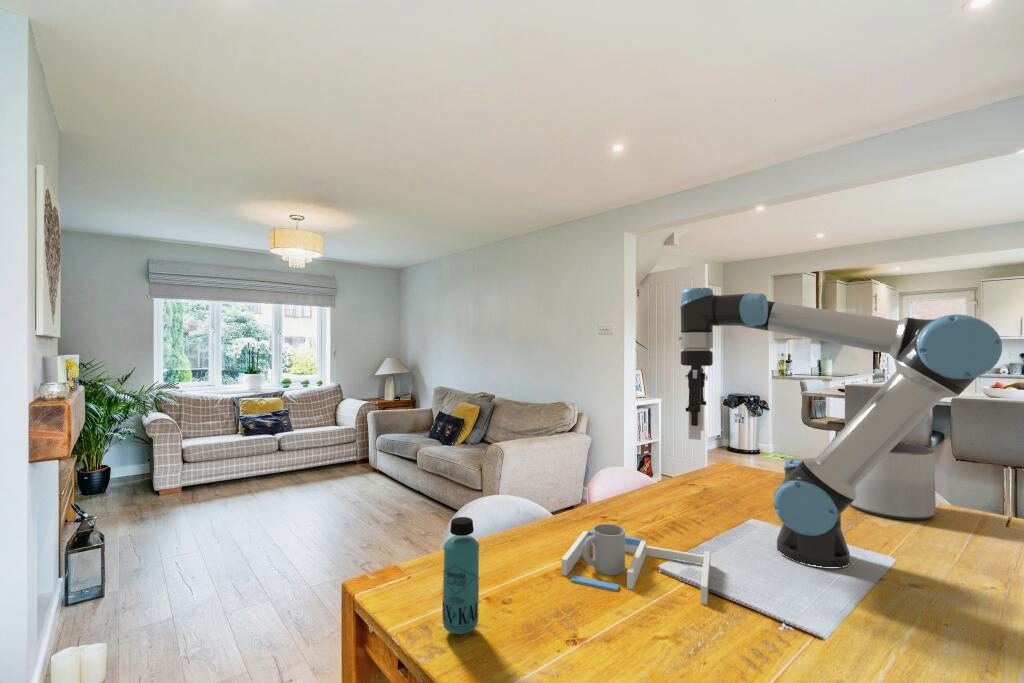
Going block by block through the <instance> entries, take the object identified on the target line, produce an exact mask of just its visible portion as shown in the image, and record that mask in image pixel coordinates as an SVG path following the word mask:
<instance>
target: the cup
mask: <svg viewBox="0 0 1024 683" xmlns="http://www.w3.org/2000/svg"><path fill="white" fill-rule="evenodd" d="M592 531H593V535H591V536H589V537H587V538H586V540H585V542H584V544H583V554H582V557H583V560H584V562H585V563H586V564H587V565H589V566H592V567H593V569H594V570H595V572H596V573H598V574H601V575H604V576H611V577H612V576H619V575H622V574H623V573H624V572H625V569H626V552H625V536H626V529H625V528H623V527H622V526H620V525H616V524H613V523H599V524H597V525H594V526H593V528H592ZM592 543H593V546H591V544H592ZM591 547H592V557H591V554H590V553H591V552H590V549H591Z"/></svg>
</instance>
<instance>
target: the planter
mask: <svg viewBox="0 0 1024 683" xmlns="http://www.w3.org/2000/svg"><path fill="white" fill-rule="evenodd" d="M935 464H936V463H935V450H934V449H933V448H930V447H927V446H924V445H921V444H915V443H910V442H904V441H900V442H899V443H898V444H897V445H896V446H895V447H894V448H893V449H892V450H891V451H890V452H889V453H888V454H887V455H886V456H885V457H884V458H883V459H882V460H881V461H880V462H879V463H878V464H877V465H876V466H875V467H874V468H873V469H872V470H871V471H870V472H869V473H868V474H867V475H866V476H865V477H864V478H863V479H862V480H861V481H860V482H859V483H858V484H857V485H856V487H855V491H856V495H857V498H856V499H855V500H854V501H853V502H852V503H851V504H850V505H849V506H850V507H852V508H854V509H856V510H858V511H861V512H863V513H867V514H870V515H873V516H877V517H881V518H887V519H893V520H894V519H895V520H903V521H922V520H927V519H930V518H932V517H935V515H936V508H937V507H936V505H937V504H936V476H935V474H936V472H935V471H936V470H935V469H936V468H935V467H936V466H935Z"/></svg>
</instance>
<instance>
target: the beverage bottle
mask: <svg viewBox="0 0 1024 683" xmlns="http://www.w3.org/2000/svg"><path fill="white" fill-rule="evenodd" d="M474 529H475V528H474V520H473V519H472V518H471V517H467V516H459V517H455V518H452V519H451V522H450V529H449V530H450V534H451V535H453V536H450V537H449V538H448V539H447V540H446V541H445V543H444V545H443V550H444V551H443V553H444V554H443V555H444V557H443V571H442V575H443V580H442V609H441V610H442V614H441V620H442V621H441V623H442V625H443V628H444V629H445V630H446V631H447V632H448V633H452V634H457V635H458V634H459V635H462V634H467V633H470V632H472V631H473V630H474V629H476V627H477V626H478V623H479V618H480V617H479V616H480V615H479V597H480V595H479V592H480V589H479V588H480V585H479V583H480V582H479V581H480V577H479V574H480V573H479V571H480V570H479V565H480V562H479V560H480V559H479V554H480V553H479V552H480V550H479V549H480V543H479V541H477V540H476V538H474V537H473V536H472V535H471V534H473V533H474Z"/></svg>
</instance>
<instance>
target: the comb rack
mask: <svg viewBox="0 0 1024 683" xmlns="http://www.w3.org/2000/svg"><path fill="white" fill-rule="evenodd" d="M591 535H593V530H588V531H586V530H583V531H582V532H581V533H580V535H579V536H578V537H577V539H576V540H575V541H574V542H573V544H572V545H571V546H570V547H569V549H568V550H567V552H566V553H565V554H564V555H563V557H562V558H561V575H562V576H566V577H567V576H568V575H569V574H570V572H571V570H573V568H574V566H575V565H576V563H577V562H578V561H579V559H580V557H581V556H583V544H584V542H585V540H586V538H587V537H589V536H591ZM590 547H593V543H592V544H591V546H590ZM703 552H704V553H703V554H698V553H694V552H692V553H691V552H686V551H680V550H674V549H668V548H663V547H662V548H661V547H657V546H651V545H647V541H646V540H643V539H642V538H638V537H632V536H626V535H625V553H629V554H634V555H633V558H632V560H631V561H630V564H629V566H628V569H627V570H626V589H628V590H634V588H635V585H636V582H637V581H638V578H639V575H640V572H641V570H642V568H643V565H644V562H645V559H646V557H647V556H648V557H651V558H658V559H665V560H669V561H674V559H679V560H685V561H690V562H695V563H701V564H703V565H702V570H701V579H700V604H702V605H706V606H707V605H708V597H709V587H708V585H709V584H710V575H709V573H710V572H711V551H710V550H704V551H703ZM570 582H571V583H575V584H580V585H584V586H590V587H594V588H598V589H602V590H603V589H604V590H608V591H611V592H612V591H613V592H618V590H619V588H620V584H616V583H614V582H607V581H603V580H597V579H593V578H589V577H588V578H587V577H583V576H577V575H575V574H574V575H572V576H571V579H570Z"/></svg>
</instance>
